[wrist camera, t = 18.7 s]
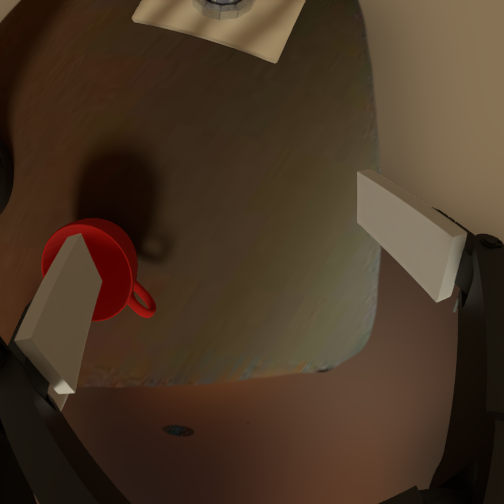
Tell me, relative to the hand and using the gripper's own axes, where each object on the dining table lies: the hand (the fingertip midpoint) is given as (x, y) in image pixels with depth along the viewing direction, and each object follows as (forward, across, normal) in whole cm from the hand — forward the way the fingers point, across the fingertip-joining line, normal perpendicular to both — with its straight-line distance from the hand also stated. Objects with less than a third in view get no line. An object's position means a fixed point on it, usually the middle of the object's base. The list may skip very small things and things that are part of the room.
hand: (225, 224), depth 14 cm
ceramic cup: (+28, -16, -15) cm, 36 cm away
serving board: (+35, +7, +19) cm, 41 cm away
